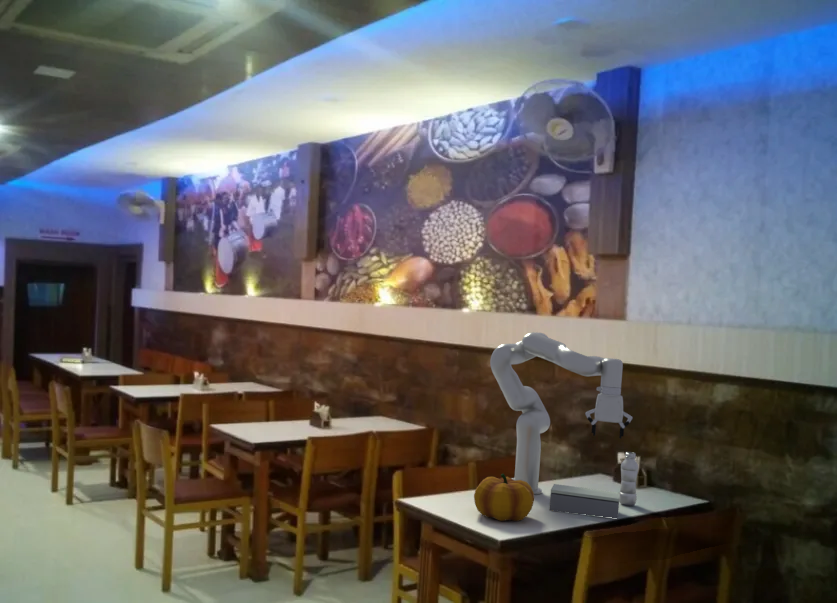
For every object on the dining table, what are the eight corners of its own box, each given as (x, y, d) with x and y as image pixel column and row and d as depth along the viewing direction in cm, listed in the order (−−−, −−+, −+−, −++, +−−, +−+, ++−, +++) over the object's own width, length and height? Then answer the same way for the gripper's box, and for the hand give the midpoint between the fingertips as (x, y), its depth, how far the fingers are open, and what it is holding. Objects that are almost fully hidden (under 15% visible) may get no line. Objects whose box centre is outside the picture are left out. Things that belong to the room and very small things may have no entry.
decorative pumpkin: (511, 529, 252) (514, 483, 252) (459, 513, 267) (462, 470, 267) (546, 520, 267) (549, 476, 267) (495, 505, 282) (498, 464, 282)
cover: (550, 492, 281) (550, 489, 281) (553, 486, 292) (554, 483, 292) (618, 501, 274) (619, 498, 274) (619, 495, 286) (619, 492, 286)
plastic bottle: (636, 508, 294) (640, 455, 294) (618, 505, 295) (622, 453, 295) (635, 504, 300) (639, 452, 300) (617, 501, 301) (621, 450, 301)
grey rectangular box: (549, 510, 281) (550, 493, 281) (552, 502, 292) (553, 486, 292) (617, 519, 274) (618, 502, 274) (618, 511, 286) (619, 495, 286)
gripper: (586, 389, 291) (583, 435, 291) (634, 394, 286) (630, 440, 286) (587, 388, 298) (584, 432, 298) (634, 392, 294) (631, 438, 294)
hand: (607, 436), depth 292 cm, fingers open, 9 cm apart
